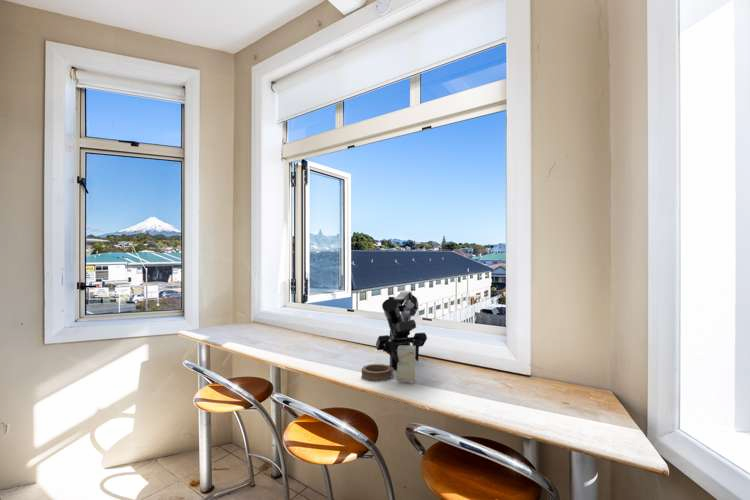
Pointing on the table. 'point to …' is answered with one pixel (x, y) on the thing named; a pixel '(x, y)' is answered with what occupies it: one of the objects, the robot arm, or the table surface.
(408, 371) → the skincare box
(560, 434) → the table surface
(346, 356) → the table surface
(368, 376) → the walnut ring
